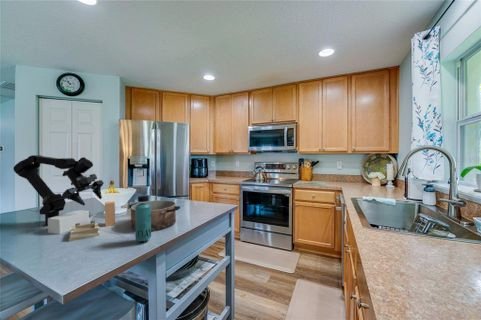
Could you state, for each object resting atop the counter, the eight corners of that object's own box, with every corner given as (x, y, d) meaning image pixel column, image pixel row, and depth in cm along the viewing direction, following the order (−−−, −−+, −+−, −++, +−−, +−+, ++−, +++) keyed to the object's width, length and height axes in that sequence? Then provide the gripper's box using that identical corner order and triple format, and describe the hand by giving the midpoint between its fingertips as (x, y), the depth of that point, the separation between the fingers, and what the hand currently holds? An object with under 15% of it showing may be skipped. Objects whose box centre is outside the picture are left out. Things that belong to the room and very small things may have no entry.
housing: (71, 231, 99) (71, 223, 99) (98, 226, 105) (98, 219, 105) (68, 241, 87) (68, 232, 87) (99, 235, 94) (99, 227, 94)
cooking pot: (115, 228, 103) (114, 207, 103) (147, 215, 125) (147, 198, 124) (163, 235, 94) (163, 213, 94) (189, 220, 115) (189, 202, 115)
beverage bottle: (135, 246, 83) (134, 198, 83) (135, 239, 89) (134, 195, 89) (152, 242, 86) (151, 196, 86) (151, 237, 92) (150, 194, 92)
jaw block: (105, 224, 109) (104, 202, 108) (114, 222, 111) (114, 201, 111) (105, 226, 105) (105, 204, 105) (115, 225, 108) (114, 202, 107)
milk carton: (59, 219, 95) (95, 208, 114) (47, 218, 96) (85, 208, 115) (59, 234, 95) (95, 221, 114) (47, 233, 97) (85, 220, 115)
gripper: (64, 174, 96) (82, 200, 96) (101, 166, 114) (116, 188, 114) (54, 186, 100) (71, 211, 100) (91, 176, 118) (105, 198, 117)
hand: (93, 201), depth 107 cm, fingers open, 9 cm apart
